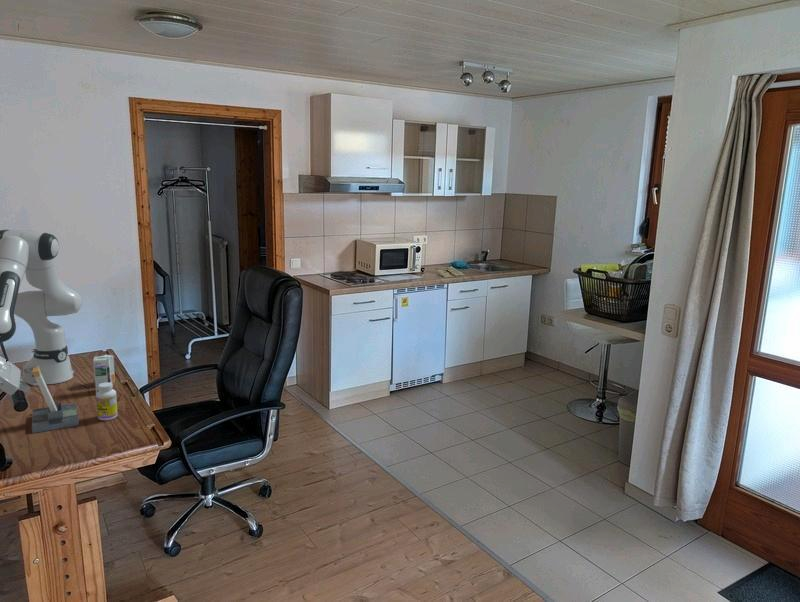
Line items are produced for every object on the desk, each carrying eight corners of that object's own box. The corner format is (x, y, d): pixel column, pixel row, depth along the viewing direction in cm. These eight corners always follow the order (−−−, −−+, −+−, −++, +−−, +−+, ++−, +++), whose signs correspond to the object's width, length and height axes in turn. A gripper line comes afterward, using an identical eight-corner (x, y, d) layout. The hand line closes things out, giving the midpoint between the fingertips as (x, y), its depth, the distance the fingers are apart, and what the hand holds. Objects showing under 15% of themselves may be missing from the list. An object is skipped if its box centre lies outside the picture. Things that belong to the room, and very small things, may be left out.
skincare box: (106, 386, 241) (103, 359, 239) (97, 385, 242) (94, 358, 240) (115, 381, 247) (113, 355, 245) (107, 380, 248) (105, 354, 245)
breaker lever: (53, 419, 203) (32, 373, 197) (52, 412, 209) (32, 367, 203) (58, 416, 204) (38, 371, 198) (58, 410, 210) (38, 365, 204)
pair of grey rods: (33, 415, 211) (32, 410, 211) (33, 411, 214) (32, 407, 213) (76, 408, 218) (76, 404, 218) (76, 405, 221) (75, 401, 221)
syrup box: (95, 394, 232) (92, 360, 229) (96, 389, 238) (94, 356, 235) (111, 392, 235) (108, 358, 232) (112, 387, 240) (109, 354, 237)
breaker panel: (32, 433, 197) (30, 419, 196) (33, 416, 210) (31, 403, 209) (79, 425, 204) (77, 411, 203) (76, 409, 217) (75, 396, 216)
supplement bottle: (93, 419, 209) (90, 385, 207) (108, 412, 215) (106, 380, 213) (107, 422, 207) (104, 388, 204) (122, 415, 213) (119, 383, 210)
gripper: (-4, 369, 186) (35, 393, 193) (0, 352, 203) (36, 374, 210) (-19, 384, 184) (21, 407, 191) (-14, 366, 201) (22, 388, 208)
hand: (29, 390), depth 201 cm, fingers closed
